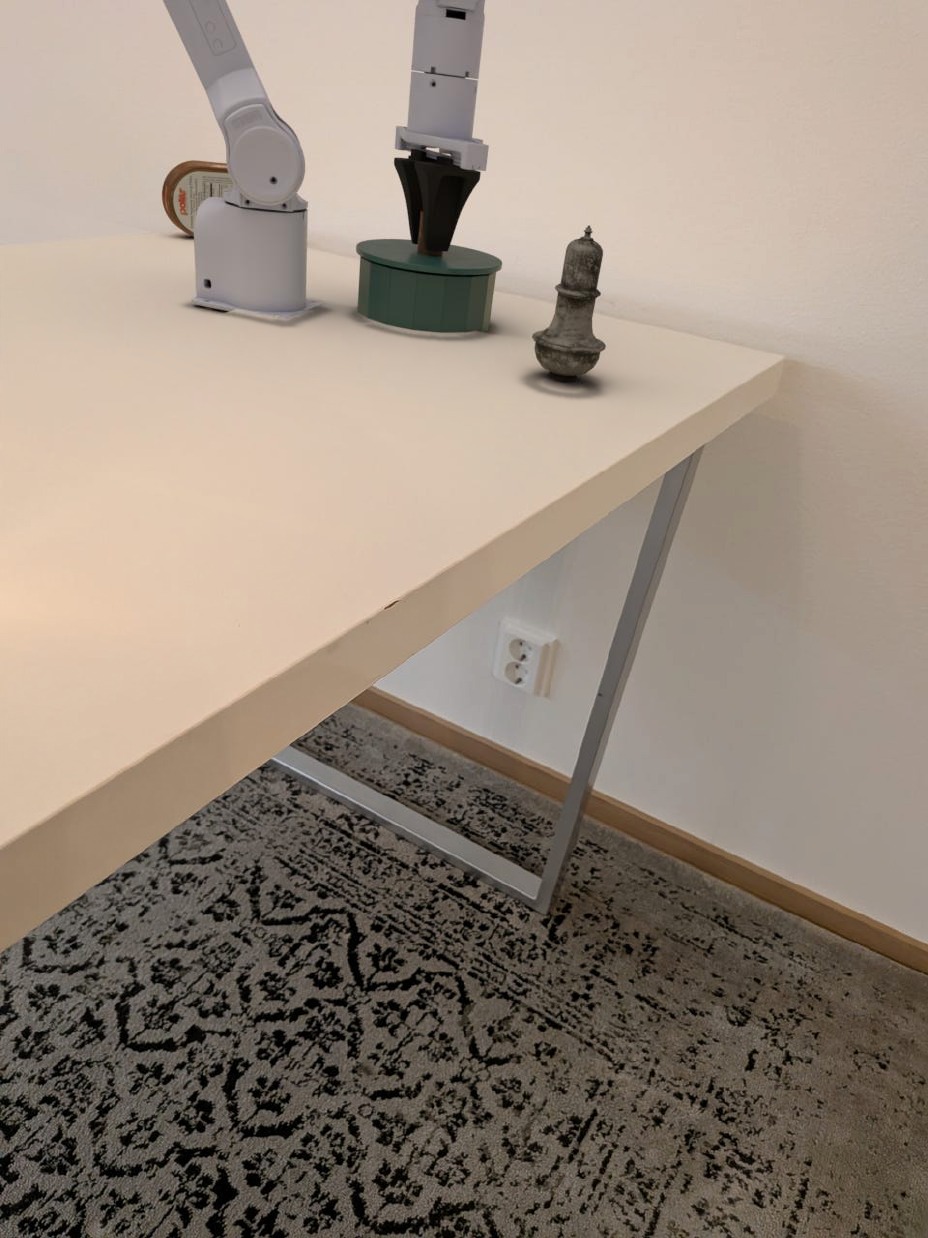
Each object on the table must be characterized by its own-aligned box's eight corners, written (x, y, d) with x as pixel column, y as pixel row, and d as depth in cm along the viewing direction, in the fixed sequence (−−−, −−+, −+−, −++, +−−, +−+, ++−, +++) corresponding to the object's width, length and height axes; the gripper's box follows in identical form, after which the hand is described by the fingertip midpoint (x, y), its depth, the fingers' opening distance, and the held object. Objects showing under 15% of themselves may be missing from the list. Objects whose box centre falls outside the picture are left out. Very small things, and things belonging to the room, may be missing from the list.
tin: (281, 238, 115) (282, 165, 110) (290, 242, 112) (290, 169, 108) (163, 233, 108) (158, 156, 103) (169, 238, 105) (165, 160, 101)
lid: (331, 262, 78) (333, 206, 76) (388, 245, 89) (391, 195, 87) (476, 289, 75) (483, 231, 73) (516, 267, 87) (523, 217, 84)
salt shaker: (549, 397, 68) (578, 230, 62) (512, 374, 72) (535, 216, 66) (611, 394, 71) (644, 234, 64) (571, 372, 75) (599, 220, 69)
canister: (335, 320, 81) (338, 258, 78) (386, 298, 91) (390, 242, 89) (465, 346, 78) (472, 283, 75) (502, 320, 89) (510, 263, 86)
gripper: (528, 86, 71) (505, 264, 78) (448, 76, 81) (434, 234, 88) (450, 75, 68) (433, 262, 75) (378, 66, 78) (369, 231, 85)
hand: (429, 247), depth 81 cm, fingers closed on lid, 2 cm apart
